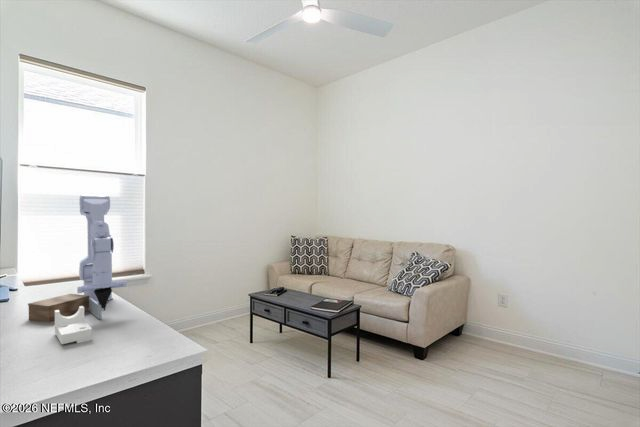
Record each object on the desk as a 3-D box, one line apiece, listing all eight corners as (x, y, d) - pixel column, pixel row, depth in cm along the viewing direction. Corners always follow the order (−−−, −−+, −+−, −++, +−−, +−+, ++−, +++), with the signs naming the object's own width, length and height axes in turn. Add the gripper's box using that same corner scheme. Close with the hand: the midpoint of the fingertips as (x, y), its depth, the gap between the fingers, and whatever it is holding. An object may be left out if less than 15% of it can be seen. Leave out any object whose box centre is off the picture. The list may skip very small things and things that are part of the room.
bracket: (54, 335, 104) (54, 310, 104) (82, 329, 109) (82, 305, 109) (61, 347, 95) (61, 320, 95) (91, 340, 100) (91, 315, 100)
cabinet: (70, 308, 131) (70, 293, 131) (89, 310, 128) (89, 295, 128) (28, 319, 118) (27, 303, 118) (48, 322, 114) (48, 306, 114)
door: (88, 310, 128) (88, 297, 128) (93, 309, 129) (93, 297, 129) (98, 319, 118) (98, 305, 117) (103, 318, 119) (103, 304, 118)
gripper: (80, 275, 113) (80, 317, 113) (128, 270, 123) (129, 308, 123) (75, 273, 118) (76, 312, 118) (122, 267, 128) (123, 304, 128)
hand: (102, 310), depth 121 cm, fingers closed
